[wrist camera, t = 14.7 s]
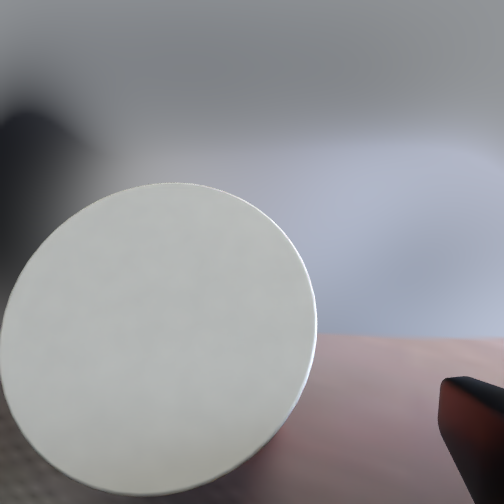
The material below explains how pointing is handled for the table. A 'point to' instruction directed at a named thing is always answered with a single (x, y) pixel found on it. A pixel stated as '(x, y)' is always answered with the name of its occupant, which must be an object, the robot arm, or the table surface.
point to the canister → (158, 339)
